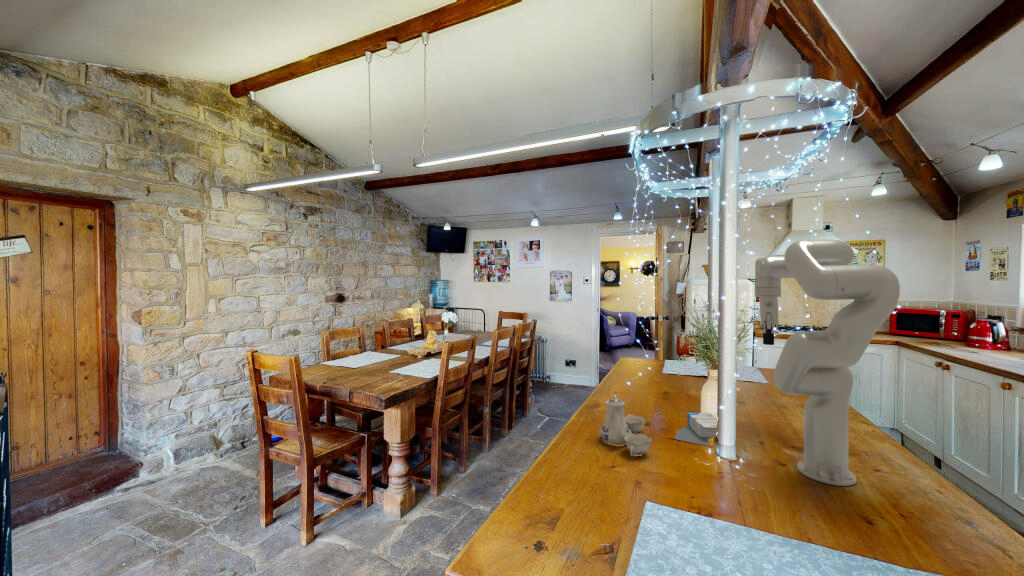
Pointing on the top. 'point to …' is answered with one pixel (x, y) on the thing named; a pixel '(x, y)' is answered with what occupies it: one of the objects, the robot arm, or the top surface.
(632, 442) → the chinaware
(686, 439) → the mat
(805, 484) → the top surface
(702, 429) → the ink box
